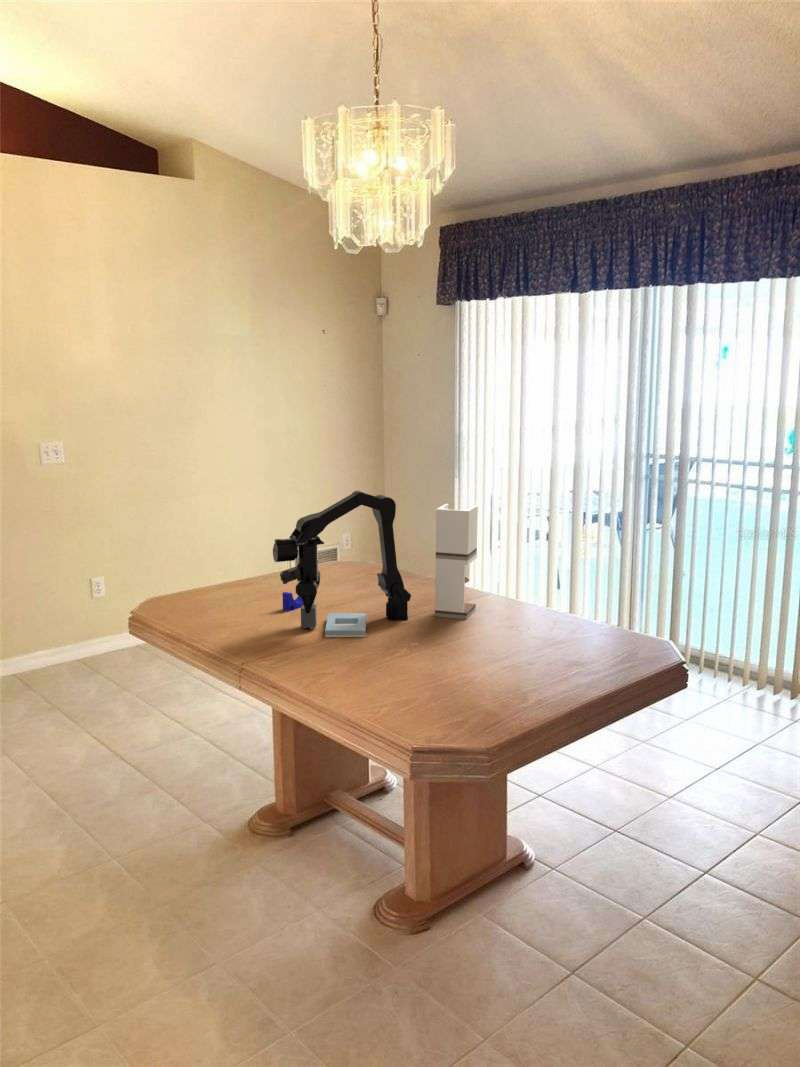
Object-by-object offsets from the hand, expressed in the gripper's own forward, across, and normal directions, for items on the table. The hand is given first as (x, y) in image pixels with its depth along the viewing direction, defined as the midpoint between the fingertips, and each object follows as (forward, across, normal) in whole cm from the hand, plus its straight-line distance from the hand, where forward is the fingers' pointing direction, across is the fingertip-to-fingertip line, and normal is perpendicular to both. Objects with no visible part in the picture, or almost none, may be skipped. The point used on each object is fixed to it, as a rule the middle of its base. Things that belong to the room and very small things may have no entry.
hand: (308, 608), depth 266 cm
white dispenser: (+6, -16, +46) cm, 49 cm away
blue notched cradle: (+6, -25, -6) cm, 26 cm away
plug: (+6, 0, 0) cm, 6 cm away
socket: (+6, 0, +11) cm, 13 cm away
